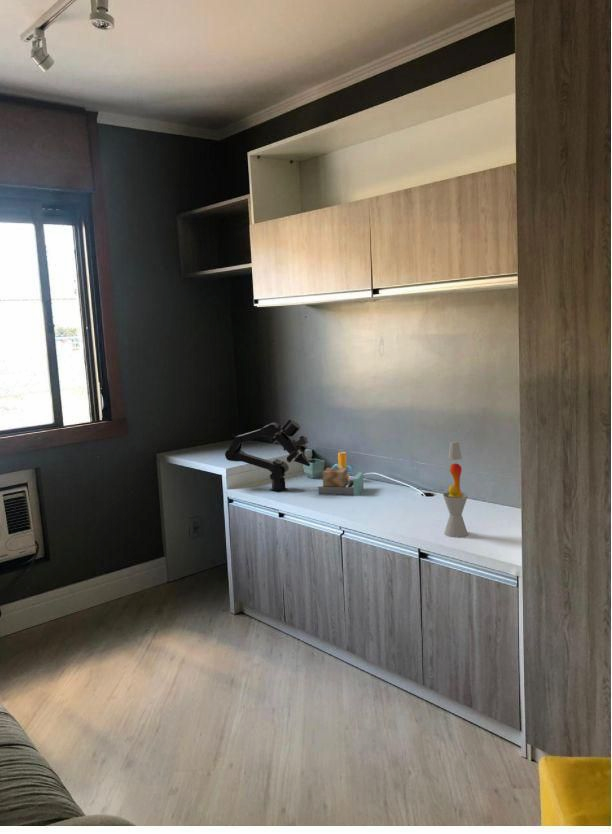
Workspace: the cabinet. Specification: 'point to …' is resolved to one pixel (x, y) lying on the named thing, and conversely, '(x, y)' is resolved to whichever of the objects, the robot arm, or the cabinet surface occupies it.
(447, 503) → the lava lamp
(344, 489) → the roller bed
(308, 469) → the flower pot
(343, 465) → the orange post with rings
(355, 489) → the stop bar
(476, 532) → the cabinet surface
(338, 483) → the brown wooden block
